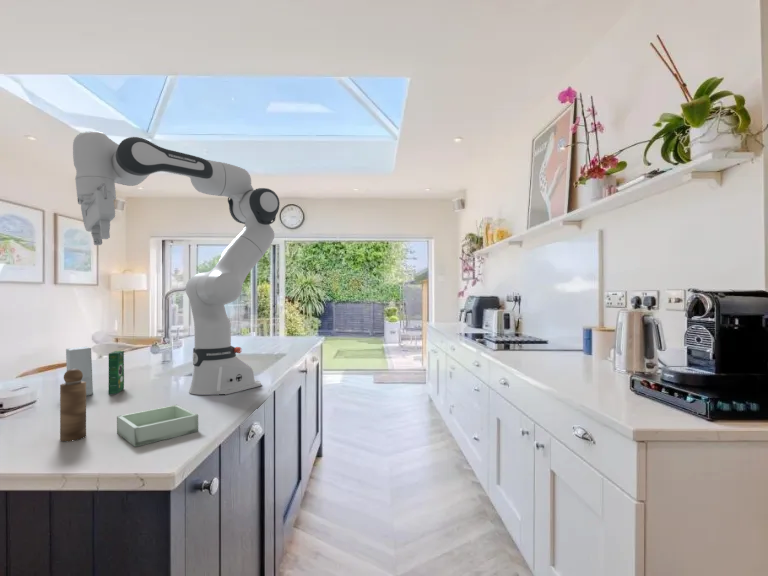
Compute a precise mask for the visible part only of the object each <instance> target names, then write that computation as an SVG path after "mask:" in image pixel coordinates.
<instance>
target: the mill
mask: <svg viewBox="0 0 768 576" xmlns="http://www.w3.org/2000/svg"><path fill="white" fill-rule="evenodd" d="M82 378H83V373H82V372H81V371H80V370H79V369H70V370H68V371H67V370H66V371H65V373H64V374H63V380H64V383H61V384H60V385H59V386H60V387H59V392H60V393H59V401H60V402H59V403H60V404H59V406H60V407H59V411H60V412H59V417H60V418H59V433H60V435H59V440H61V441H60V442H63V441H68V442H73V441H72V440H75V441H78V440H77V439H79V440H82V439H84V438H86V437H87V395H86V382H84V381H81V380H82ZM85 436H86V437H85ZM83 437H84V438H83ZM81 438H82V439H81Z"/></svg>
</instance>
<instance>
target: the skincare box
mask: <svg viewBox="0 0 768 576" xmlns="http://www.w3.org/2000/svg"><path fill="white" fill-rule="evenodd" d="M65 358H66V360H65V361H66V362H65V363H66V372H67V371H68V370H70V369H79V370H80V371H81V372H82V373H83V378H82V380H81V381H84V382H86V396H93V395H94V388H93V385H94V384H93V364H92V347H90V346H89V347H88V346H79V347H71V348H66V349H65Z"/></svg>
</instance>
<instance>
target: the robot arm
mask: <svg viewBox="0 0 768 576" xmlns="http://www.w3.org/2000/svg"><path fill="white" fill-rule="evenodd" d="M72 159H73V166H74V168H75V170H76V174H75V179H74V180H75V189H76V197H77V204H78V205H80V210H81V216H82V221H83V226H84V229H85V230H86V232H90V233H91V237H92V239H93V245H94V246H101V245H102V244H103V240H109V238H110V236H111V234H110V233H111V232H110V230H111V229H110V228H111V222H112V221H113V220H114V219H115V218H116V217H115V216H116V209H115V201H114V200H116V199H117V192H116V186H115V185H116V184H118V185H123V186H128V187H133V186H138V185H140V184H141V183H142V182H144V181H145V180H146V179H147V178H148V177H149V176H150V175H152V174H155V173H159V172H163V173H164V172H165V173H167V174H168V173H169V174H174V175H179V176H185V177H187V178H190V183H191V184H192V186H193V188H194V189H195V190H196V191H197V192H199V193H202V194H206V195H209V196H217V197H227V203H228V209H229V213H230V216H231V217H232V219H233V220H234V221H235V222H237V223H239V224H244V226H243V228H242V230H241V232H239V233H238V235H236V237H234V238H233V240H232V241H231V242H230V243H228V245H227V246H226V247H225V248H224V249H223V250H222V252H221V254H220V258H219V260H218V261H217V263H216V264H215V266H214V267H213V268H212V269H210V270H209V271H204V272H199V273H196V274H195V275H193V276H191V277H190V278H189V279H188V280H187V282H186V284H185V292H186V295H187V297H188V299H189V303H190V308H191V313H192V318H193V327H194V348H192V350H193V351H192V363H193V372H192V380H191V384H190V387H189V390H188V393H190V394H193V395H203V396H204V395H205V396H206V395H219V394H225V395H229V394H233V393H237V392H242V391H245V390H250V389H254V388H259V387H261V386H262V382H261V381H260V380H258V379H256V378H255V374H254V371H253V370H254V369H253V368H252V367H251V365H249V364H248V363H246V362H245V361H243V360H242V359H240V358H239V357H238V356H237V355H236V354H241V353H242V352H243V350H242V348H241V347H240V346H236V347H234V346H232V343H231V342H232V335H231V333H232V328H231V327H232V325H231V320H230V319H229V317H228V315H227V312H226V308H225V305H228V304H231V303H233V302H235V301H236V300H238V299H239V297H240V296H241V294H242V291H243V285H244V283H245V280H246V279H247V278H248V277H247V276H248V275H249V273H250V272H251V271H252V269H254V267H255V266H256V265H257V264H258V262H259V261H260V260H261V259H262V258H263V256H264V255H265V254H266V253H267V251H268V250H269V248H270V247H271V245H272V243H273V242H274V239H275V231H274V229H273V227H272V226H271V224H273V223H275V221H276V218H277V214H278V212H279V210H280V206H281V205H280V199H279V196H278V194H277V193H276V192H275V191H274V190H272V189H270V188H266V187H259V188H255V189H254V187H253V185H252V177H251V175H250V173H249V172H248V170H246V169H245V168H243V167H241V166H240V167H239V166H237V165H234V164H231V163H227V162H221V161H216V160H210V159H209V160H208V159H205V158H202V157H200V156H196V155H191V154H188V153H184V152H179V151H176V150H171V149H168V148H164V147H163V146H162V147H161V146H160V145H157V144H156V143H153V142H152V141H149V140H147V139H145V138H143V137H138V136H130V137H126V138H125V139H123V140H121V141H120V143H119V144H118V143H117V142H115V141H113V140H112V139H111V138H109V136H108V135H106V133H104V132H100V131H97V130H91V131H90V130H89V131H85V132H80V133H79V134H77V135H76V136H75V137H74V139H73V142H72Z"/></svg>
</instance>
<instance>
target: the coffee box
mask: <svg viewBox="0 0 768 576" xmlns="http://www.w3.org/2000/svg"><path fill="white" fill-rule="evenodd" d="M124 353H125V350H114V351H112V352H110V353H108V382H107V383H108V386H107V387H108V389H107V390H108V393H107V394H108V395H109V396H110V395H117V394H120V393H121V392H122V391H124V389H125V354H124Z"/></svg>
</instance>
